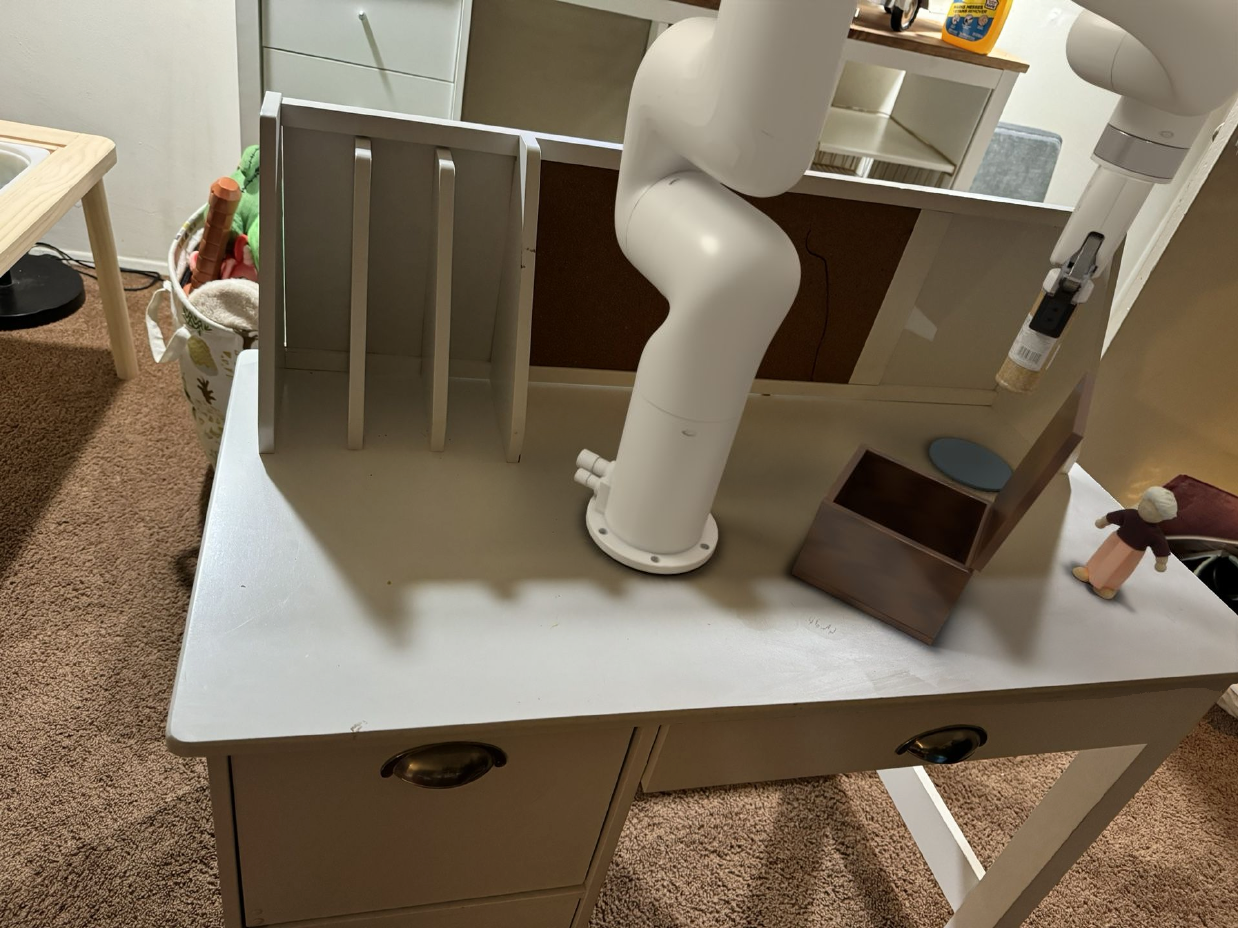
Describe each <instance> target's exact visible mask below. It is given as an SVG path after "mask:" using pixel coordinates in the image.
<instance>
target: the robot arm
mask: <svg viewBox="0 0 1238 928" xmlns="http://www.w3.org/2000/svg"><path fill="white" fill-rule="evenodd" d="M859 1H860V0H720V4H719V9H718V12H717V18H715V17H709V16H694V17H687V18H685V19H682V20H680V21H677V22H675V23H674V24H672V25H670V26H669V27H668V28H666V29H665V30H664V31H663V32H662V33H661V34H659V36H657V38H656V39H655V40H654V41H653V42H652V44H651V45H650V46H649V48H648V49H647V51H646V53H645V54H644V56H643V58H642V60H641V62H640V64H639V67H638V69H637V70H636V75H635V77H634V80H633V82H632V88H631V92H630V97H629V103H628V109H627V115H626V121H625V129H624V135H623V136H624V137H623V145H622V152H621V159H620V165H619V173H618V181H617V188H616V195H615V203H614V204H615V205H614V228H615V235H616V240H617V243H618V245H619V247H620V248H619V249H621V252H622V253H623V255H624V256H625V257H626V259H627V260H628V262H630V263H631V265H632V266H633V267H634V268H635V269H636V270H638V272H639V273H640V274H642V275H643V277H644V278H645V279H646V280H648V281H649V282H650V283H651V284H652V285H653V286H654V287H655V288H656V289H657V290H658V291H659V293H660V294H661V295H662V296H663V297H664V298H665V299H666V300H667V302H668V303H669V312H668V314H667V317H666V319H665V320H664V322H663V323H662V324H661V325H660V326H659V327H658V328H657V330H656V331H655V332H653V334H652V335H651V336H650V337H649V339H648V340H647V342H646V344H645V346H644V348H643V351H642V353H641V354H640V355H641V356H640V359H639V363H638V366H637V370H636V373H635V380H634V384H633V388H632V393H631V397H630V400H629V404H628V408H627V414H626V417H625V422H624V425H623V430H622V434H621V437H620V442H619V446H618V451H617V453H616V454H617V455H616V459H615V460H612V461H609V460H607V459H605V458H602V456H600V455H599V454H597V453H594V452H592V451H590V450H589V449H587V448H584V449H582V450H581V452H580V453H579V455H578V456H577V458H576V461H575V466H576V467H577V468H578V469H577V471H576V472H575V474H574V476H573V480H574V481H575V482H576V483H578V484H580V485H582V486H584V487H587V488H589V489H592V490H593V495H592V496H591V498H590V500H589V502H588V504H587V509H586V514H585V521H586V527H587V530H588V533H589V535H590V537H591V538H592V539H593V541H594V542H595V544H596V545H597V546H598V547H599V548H600V549H601V550H602V551H603V552H605V553H606V554H607V555H608V556H610V557H611V558H612V559H614V560H616V561H617V562H619V563H621V564H623V565H625V566H628V567H630V568H633V569H636V570H637V571H643V572H647V573H650V574H651V573H652V574H660V575H661V574H663V575H672V574H676V575H677V574H680V573H688V572H690V571H692V570H696V569H697V568H699V567H701V566H702V565H704V564H705V563H707V561H709V559H711V557H712V556H713V554H714V552H715V549H716V546H717V544H718V541H719V529H718V525H717V522H716V520H715V518H714V517H713V514H712V513H711V509H712V506H713V504H714V500H715V497H716V494H717V492H718V488H719V486H720V483H721V480H722V477H723V474H724V470H725V468H726V465H727V461H728V459H729V455H730V452H731V450H732V446H733V444H734V441H735V438H736V435H737V431H738V429H739V426H740V423H741V420H742V417H743V413H744V411H745V408H746V404H747V401H748V399H749V395H750V392H751V389H752V386H753V384H754V381H755V378H756V375H757V372H758V370H759V367H760V365H761V364H762V361H763V359H764V356H765V355H766V352H767V349H768V348H769V345H770V344H771V342H772V341H773V338H774V336H775V335H776V333H777V332H778V330H779V328H780V327H781V325H782V323H783V321H784V320H785V318H786V316H787V315H788V313H789V311H790V310H791V307H792V306H793V304H794V301H795V299H796V297H797V295H798V292H799V289H800V284H801V275H802V271H801V270H802V269H801V268H802V267H801V262H800V258H799V254H798V252H797V250H796V247H795V245H794V244H793V241H792V240H791V238H790V237H789V236H788V234H787V233H786V231H784V230H783V229H782V228H781V226H780V225H778V224H777V223H776V221H774V220H773V219H771V217H770V216H768V215H767V214H766V213H764V212H763V211H761V210H759V209H758V208H757V207H756V206H754V205H752V204H751V203H750V202H749V201H747V200H745V199H744V198H743V197H742V196H739V195H738V194H736V193H735V192H733V191H736V192H739V193H741V194H744V195H747V196H751V197H754V198H755V197H756V198H771V197H777V196H779V195H782V194H784V193H787V191H789V190H790V189H792V188H793V187H794V186H795V185H797V183H798V182H799V181H800V180H801V179H802V178H803V176H804V175H805V173H806V172H807V170H808V168H809V166H810V164H811V162H812V159H813V157H814V154H815V152H816V150H817V147H818V144H819V142H820V141H819V140H820V138H821V134H822V131H823V127H824V124H825V119H826V116H827V112H828V110H829V109H828V108H829V105H830V101H831V98H832V94H833V90H834V87H835V83H836V79H837V76H838V72H839V68H840V64H841V61H842V58H843V54H844V50H845V46H846V42H847V39H848V36H849V33H850V29H851V25H852V23H853V20H854V16H855V14H856V10H857V7H858V4H859ZM1070 1H1071V2H1073V3H1074V4H1076V5H1078V6H1080V7H1081V8H1084V9H1082V10H1081V12H1079V14H1078V15H1077V17H1076V18H1075V20H1074V21H1073V22H1072V25H1071V27H1070V29H1069V31H1068V34H1067V38H1066V43H1065V55H1066V56H1065V57H1066V60H1067V63H1068V65H1069V67H1070V69H1071V70H1072V72H1073V73H1074V74H1075V75H1077V76H1078V77H1079V78H1080V79H1081V80H1083V81H1084V82H1086V83H1088V84H1090V85H1092V86H1095V87H1098V88H1100V89H1102V90H1106V91H1108V92H1111V93H1113V94H1117V95H1119V96H1120V98H1119V100H1118V102H1117V104H1116V106H1115V108H1114V109H1113V112H1112V114H1111V115H1110V117H1109V120H1108V122H1107V123H1106V125H1105V127H1104V128H1103V131H1102V133H1101V135H1100V137H1099V139H1098V141H1097V143H1096V145H1095V147H1094V149H1093V151H1092V153H1091V155H1090V156H1089V157H1090V160H1092V162H1093V163H1095V164H1097V165H1098V166H1097V167H1096V169H1095V170H1094V172H1093V174H1092V176H1091V177H1090V179H1089V181H1088V182H1087V184H1086V185H1085V188H1084V190H1083V191H1082V193H1081V195H1080V197H1079V199H1078V201H1077V203H1076V204H1075V207H1074V209H1073V211H1072V212H1071V214H1070V217H1069V218H1068V220H1067V223H1066V224H1065V226H1064V228H1063V230H1062V231H1061V234H1060V236H1059V238H1058V240H1057V242H1056V244H1055V246H1054V248H1053V251H1052V253H1051V255H1050V257H1049V261H1050V264H1051V265H1053V266H1055V265H1056V264H1059V265H1060V267H1059V268H1060V269H1061V270H1060V272H1059V274H1058V276H1057V278H1056V280H1055V282H1054V284H1053V286H1052V288H1051V290H1050V292H1049V293H1047V292H1046V293H1045V295H1044V297H1043V299H1042V301H1041V303H1040V305H1039V307H1038V309H1037V310H1036V312H1035V314H1034V316H1033V318H1032V320H1031V322H1030V324H1029V328H1030V329H1031V330H1034V331H1036V332H1039V333H1042V334H1044V335H1047V336H1049V337H1052V338H1055V339H1057V338H1059V337H1060V335H1061V333H1062V332H1063V330H1064V328H1065V326H1066V324H1067V323H1068V321H1069V319H1070V317H1071V315H1072V314H1073V312H1074V310H1075V308H1076V306H1077V303H1076V302H1077V300H1078V299H1079V297H1080V295H1081V293H1082V291H1083V289H1084V287H1085V286H1086V284H1087V282H1088V280H1089V279H1090V280H1092V279H1097V278H1099V277H1100V276H1101V274H1102V272H1103V271H1104V270H1105V268H1106V267H1107V265H1108V264H1109V262H1110V261H1111V259H1112V257H1113V256H1114V255H1115V253H1116V251H1117V250H1118V249H1119V247H1120V245H1121V243H1122V241H1123V240H1124V238H1125V237H1126V235H1127V233H1128V232H1129V231H1130V228H1131V226H1132V225H1133V223H1134V222H1135V219H1136V218H1137V216H1138V214H1139V213H1140V211H1141V209H1142V208H1143V206H1144V204H1145V202H1146V200H1147V199H1148V197H1149V195H1150V194H1151V191H1152V190H1153V188H1154V186H1155V185H1156V184H1157V185H1170V184H1171V183H1172V181H1173V179H1174V178H1175V176H1176V175H1177V172H1178V171H1179V170H1180V168H1181V166H1182V164H1183V162H1184V160H1185V158H1186V157H1187V156H1188V154H1189V152H1190V150H1191V147H1192V146H1193V144H1194V142H1195V141H1196V140H1197V138H1198V135H1199V134H1200V132H1201V130H1202V129H1203V127H1204V125H1205V124H1206V122H1207V121H1208V118H1209V117H1210V115H1211V113H1212V112H1214V111H1215V110H1217V109H1219V108H1221V107H1222V106H1223V105H1225V104H1227V102H1229V101H1230V100H1231V99H1232V98H1233V97H1234V96H1235V95H1236V93H1237V92H1238V0H1070ZM729 188H730V189H729ZM731 189H732V190H733V191H732V190H731ZM1065 273H1066V274H1069V275H1068V277H1067V278H1066V277H1064V275H1065ZM1063 277H1064V278H1063ZM1058 286H1059V287H1058ZM1057 288H1058V289H1057Z"/></svg>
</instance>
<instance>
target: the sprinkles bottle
mask: <svg viewBox="0 0 1238 928" xmlns="http://www.w3.org/2000/svg"><path fill="white" fill-rule="evenodd" d="M1060 270H1061V269H1060V267H1059V268H1051V269H1050V270H1049V272H1048V273H1047V275H1046V276H1045V279H1044V280H1043V283H1042V287H1041V289H1040V290H1041V291H1040V292H1039V295H1038V296H1037V298H1036V301H1035V302H1034V303H1033V306H1032V308H1031V310H1030V311H1029V312H1028V314H1027V316H1026V318H1025V320H1024V321H1023V324H1022V326H1021V328H1020V330H1019V332H1018V334H1017V336H1016V337H1015V339H1014V341H1013V343H1012V344H1011V347H1010V349H1009V351H1008V354H1007V356H1006V358H1005V359H1004V362H1003V363H1002V366H1001V368H1000V369H999V371H998V372H997V373H996V374H995V377H994V379H995V381H996V382H997V384H998V385H999V386H1000V387H1001V388H1003V389H1004V390H1006V391H1007V392H1009V393H1013V394H1015V395H1018V396H1027V397H1030V396H1033V395H1035V393H1036V392H1037V391H1038V390H1037V389H1038V386H1039V385H1040V383H1041V381H1042V379H1043V377H1044V375H1045V374H1046V371H1047V370H1048V369H1049V367H1050V366H1051V364H1052V362H1053V360H1054V359H1055V357H1056V355H1057V353H1058V351H1059V350H1060V348H1061V345H1062V341H1064V340H1065V337H1066V335H1067V334H1068V333H1069V330H1070V328H1071V326H1072V324H1073V322H1074V321H1075V319H1076V317H1077V315H1078V313H1079V311H1080V309H1081V307H1082V306H1083V305H1084V303H1086V302H1087V301H1088V299H1089V297H1090V295H1091V294H1092V291H1093V289H1094V288H1095V285H1094V282H1093V281H1092V279H1091V278H1090V279H1089V280H1088V282H1087V284H1086V286H1085V287H1084V289H1083V291H1082V293H1081V295H1080V297H1079V299H1078V300H1077V302H1076V303H1077V306H1076V308H1075V310H1074V312H1073V314H1072V315H1071V317H1070V319H1069V321H1068V323H1067V324H1066V326H1065V328H1064V330H1063V332H1062V333H1061V335H1060V337H1059V338H1057V339H1055V338H1052V337H1049V336H1047V335H1044V334H1042V333H1039V332H1036V331H1034V330H1031V329H1030V328H1029V324H1030V322H1031V320H1032V318H1033V316H1034V314H1035V312H1036V310H1037V309H1038V307H1039V305H1040V303H1041V301H1042V299H1043V297H1044V295H1045V293H1046V292H1047V293H1049V292H1050V290H1051V288H1052V286H1053V284H1054V282H1055V280H1056V278H1057V276H1058V274H1059V272H1060ZM1068 275H1069V274H1066V273H1065V275H1064V277H1066V278H1067V277H1068ZM1064 277H1063V278H1064ZM1058 287H1059V286H1058ZM1057 289H1058V288H1057Z"/></svg>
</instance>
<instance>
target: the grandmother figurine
mask: <svg viewBox="0 0 1238 928" xmlns="http://www.w3.org/2000/svg"><path fill="white" fill-rule="evenodd" d="M1177 512H1178V503H1177V500H1176V498H1175V493H1173V492H1172V491H1170V490H1169V489H1167V488H1164V487H1163V486H1159V485H1158V486H1157V485H1154V486H1151V487H1148V488H1147V489H1146V490H1145V491H1144V492H1143V493H1142V498H1141V501H1140V502H1139V503H1138V505H1137V509H1136V508H1122V509H1118V510H1113V511H1110V512H1108V513H1107V514H1105V515H1103V516H1102V517H1100V518H1097V519H1096V520H1095V522H1094V526H1095V528H1097V529H1100V530H1103V529H1106V527H1109V526H1111V525H1116V526H1118V528H1117V529H1115V530H1114V531H1112V532H1111V533H1110V534H1109V535H1108V536H1107V537H1106V538H1105V540H1104V541H1103V542H1102V544H1101V545H1100V546H1099V547H1098V549H1096V551H1095V552H1094V553H1093V554H1092V555H1091V556H1090V558H1089V559H1088V560H1087V562H1086V563H1085V566H1076V567H1074V568H1073V569H1072V570H1071V571H1072V575H1074V577H1076V578H1077V580H1079V581H1081V582H1085V583H1090V584H1091V585H1092V591H1093V592H1094V593H1095V594H1097V595H1098V596H1099V597H1101V598H1102V599H1105V600H1111V599H1113V598H1114V597H1115V596H1116V595H1117V591H1118V590H1119V589H1120V588H1121V587H1122V586H1123V584H1124V583H1125V582H1126V581H1127V580H1128V579H1129V578H1130V576H1131V575H1132V574H1133V573H1134V571H1135V570H1136V569H1137V567H1138V565H1139V564H1140V563H1141V561H1142V560H1143V558H1144V556H1145V554H1146V552H1147V549H1148V547H1149V549H1151V552H1152V554H1153V556H1154V557H1155V559H1154V560H1155V563H1154V565H1153V567H1154V570H1155V571H1156V572H1158V573H1165V572H1166V571H1167V569H1168V566H1167V564H1168V562H1169V557H1170V556H1171V555H1172V551H1171V549H1170V546H1169V542H1168V540H1167V538H1166V536H1165V533H1164V532H1163V531H1162V529H1161V527H1160V526H1159V524H1158V523H1161V522H1163V521H1166V520H1172V519H1174V518H1177Z"/></svg>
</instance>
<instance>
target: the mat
mask: <svg viewBox="0 0 1238 928" xmlns="http://www.w3.org/2000/svg"><path fill="white" fill-rule="evenodd" d="M928 454H929V456H930V459H931V461H932V462H933V464H934V465H935V466H936V467H937V468H938V469H939V470H940V471H941V472H942V473H943V474H945V475H946V476H947V477H949V478H951V479H952V480H954V481H956V482H958V483H959V484H962V485H964V486H967V487H970V488H972V489H975V490H980V491H984V492H1000V490H1001V489H1002V487H1003V486H1004V485H1005V483H1006V482H1007V481H1008V479H1009V478H1010V476H1011V475H1012V474H1013V471H1012V469H1011V468H1010V466H1009V464H1007V463H1006V462H1005V461H1004V460H1003V459H1002V458H1001V457H1000V456H999V455H997V454H996V453H994V452H993V451H991V450H989V449H987V448H986V447H983V446H981V445H979V444H977V443H974V442H971V441H968V440H965V439H962V438H961V439H959V438H954V437H948V438H947V437H944V438H939V439H936V440H935V441H933V442H932V443H931V444H930V447H929V451H928Z"/></svg>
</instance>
